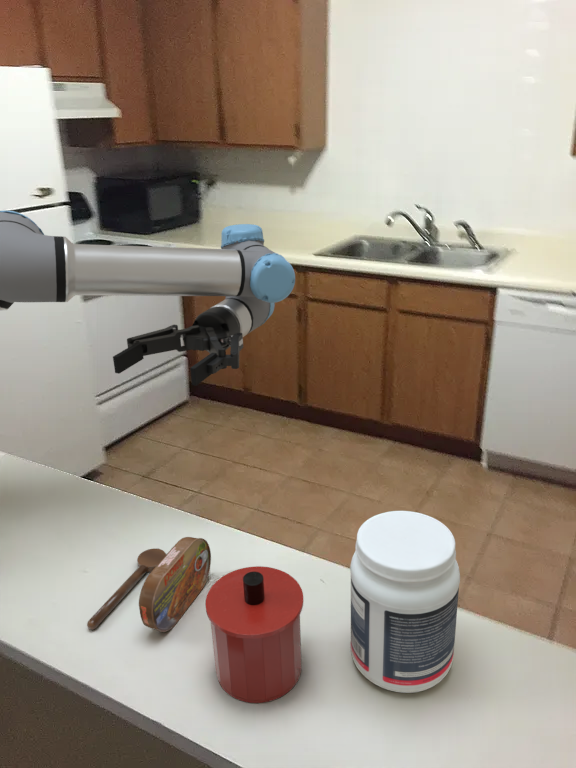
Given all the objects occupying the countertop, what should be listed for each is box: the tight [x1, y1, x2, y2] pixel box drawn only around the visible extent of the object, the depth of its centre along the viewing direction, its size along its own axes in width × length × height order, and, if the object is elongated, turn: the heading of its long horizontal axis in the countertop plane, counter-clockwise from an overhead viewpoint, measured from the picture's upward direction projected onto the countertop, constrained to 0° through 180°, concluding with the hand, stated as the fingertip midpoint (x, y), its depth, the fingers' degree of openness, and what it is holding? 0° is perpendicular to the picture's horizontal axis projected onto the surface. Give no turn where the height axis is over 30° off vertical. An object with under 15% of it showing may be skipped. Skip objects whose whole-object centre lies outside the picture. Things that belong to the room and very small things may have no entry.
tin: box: [138, 536, 212, 633], centre depth 93 cm, size 15×3×8 cm, turn 157°
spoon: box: [86, 548, 167, 631], centre depth 97 cm, size 17×4×1 cm, turn 157°
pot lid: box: [205, 565, 304, 639], centre depth 79 cm, size 12×12×4 cm
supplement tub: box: [349, 510, 461, 694], centre depth 81 cm, size 13×13×18 cm
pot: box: [210, 614, 302, 704], centre depth 82 cm, size 11×11×10 cm
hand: (153, 371), depth 99 cm, fingers open, 13 cm apart
